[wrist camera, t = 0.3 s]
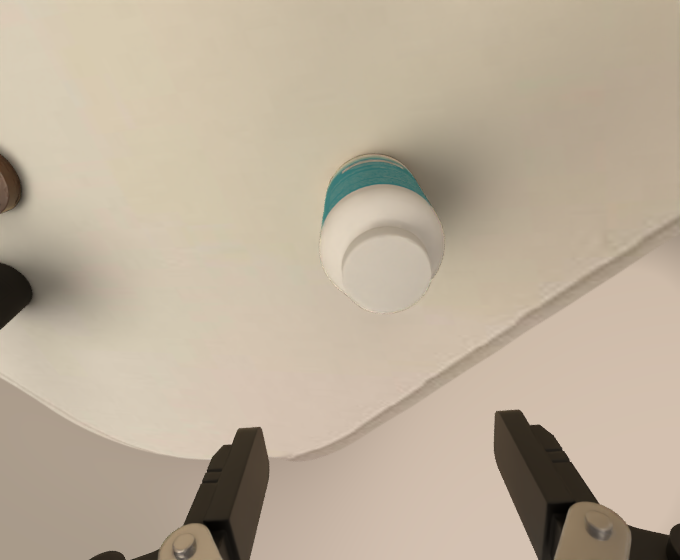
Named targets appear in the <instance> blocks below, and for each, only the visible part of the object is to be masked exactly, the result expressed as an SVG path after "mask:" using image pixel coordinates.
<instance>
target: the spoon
mask: <svg viewBox="0 0 680 560" xmlns="http://www.w3.org/2000/svg"><path fill="white" fill-rule="evenodd" d="M20 197H21V184H20V180H19V177H18V175H17V173H16V171H15V170H14V168H13V167H12V166H11V164H10V163H9V162H8V161H7V160H6V159H5V158H4V157H3V156H2V155H1V154H0V214H1V213H4V212H6V211H8V210H11V209H12V208H14V207H15V206H16V205H17V203H18V202H19V200H20Z"/></svg>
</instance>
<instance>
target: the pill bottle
mask: <svg viewBox="0 0 680 560" xmlns="http://www.w3.org/2000/svg"><path fill="white" fill-rule="evenodd" d="M444 247H445V238H444V232H443V228H442V225H441V222H440V220H439V218H438V216H437V214H436V213H435V211H434V209H433V208H432V206H431V204H430V203H429V201H428V200H427V198H426V196H425V195H424V193H423V192H422V190H421V188H420V187H419V185H418V183H417V182H416V180H415V178H414V177H413V175H412V174H411V172H410V171H409V170H408V169H407V168H406V167H405V166H404V165H403V164H402V163H400V162H399V161H397V160H396V159H394V158H391V157H389V156H385V155H380V154H367V155H362V156H359V157H356V158H354V159H351V160H350V161H348V162H346V163H345V164H344V165H342V166H341V167H340V168H339V169H338V170H337V171H336V173H335V174H334V176H333V177H332V179H331V181H330V183H329V185H328V188H327V192H326V198H325V205H324V212H323V220H322V227H321V234H320V243H319V252H320V259H321V263H322V266H323V269H324V271H325V273H326V275H327V276H328V278H329V279H330V281H331V282H332V283H333V284H334V285H335V286H336V287H337V288H338V289H339V290H340V291H341V292H343V293H344V294H346V295H347V296H349V298H350V299H351V300H352V301H353V302H354V303H355V304H357V305H358V306H359V307H361V308H363V309H365V310H367V311H370V312H373V313H379V314H390V313H396V312H400V311H403V310H405V309H407V308H409V307H411V306H413V305H414V304H416V303H417V302H418V301H419V300H420V299H421V298H422V297H423V296H424V294H425V293H426V292H427V290H428V288H429V285H430V283H431V280H432V279H433V278H434V276H435V274H436V273H437V271H438V269H439V267H440V265H441V262H442V259H443V255H444Z"/></svg>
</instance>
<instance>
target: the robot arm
mask: <svg viewBox="0 0 680 560" xmlns="http://www.w3.org/2000/svg"><path fill="white" fill-rule="evenodd" d="M494 427H495V429H494V454H495V459H496V463H497V466H498V469H499V471H500V473H501V475H502V478H503V480H504V482H505V484H506V487H507V489H508V491H509V493H510V496H511V498H512V500H513V503H514V505H515V507H516V510H517V512H518V514H519V516H520V519H521V521H522V523H523V525H524V528H525V530H526V532H527V535H528V537H529V539H530V541H531V544H532V546H533V548H534V550H535V553H536V555H537V557H538V560H680V524H677V525H675V526H674V527H673V528H672V529H671V531H670V535H665V534H661V533H656V532H651V531H647V530H643V529H639V528H635V527H632V526H629V525H627V524H626V522H625V521H624V520H623V519H622V518H621V517H620V516H619V515H618V514H617V513H615V512H614V511H612V510H611V509H609V508H607V507H605V506H603V505H600V504H599V503H598V501H597V500H596V498H595V497H594V495H593V494H592V492H591V491H590V489H589V488H588V486H587V485H586V483H585V482H584V480H583V479H582V478H581V476H580V474H579V473H578V471H577V470H576V469H575V467H574V465H573V464H572V462H570V461H569V458H568V456H567V455H566V453H565V452H564V451H563V450H562V447H561V446H560V444H559V443H558V441H557V440H556V438H555V437H554V435H552V434H551V433H550V432H548V431H547V430H546V429H544V428H543V427H542V426H541V425H529V423H528V422H527V420H526V418H525V416H524V415H523V413H522V412H521V411H520V410H507V411H496V413H495V426H494ZM268 480H269V460H268V455H267V451H266V446H265V441H264V437H263V432H262V429H261V427H252V428H239V429H238V430H237V432H236V435H235V438H234V440H233V443H232V445H223V446H222V447H221V448H220V449H219V450H218V452H217V453H216V454H215V455H214V456H213V457H212V459H211V462H210V464H209V466H208V469H207V473H205V476H204V478H203V480H202V484H201V485H200V488H199V490H198V492H197V494H196V497H195V499H194V502H193V504H192V506H191V508H190V511H189V513H188V515H187V518H186V520H185V523H184V525H183V526H182V527H180V528H178V529H177V530H175V531H174V532H172V533H171V534H170V535H169V536H168V537H167V538H166V539H165V541H164V542H163V544H162V545H161V547H160V549H158V550H156V551H154V552H152V553H149V554H146V555H143V556H140V557H138V558H135V559H132V560H249V559H250V555H251V551H252V547H253V543H254V539H255V535H256V530H257V526H258V522H259V518H260V513H261V509H262V505H263V501H264V497H265V492H266V488H267V484H268ZM90 560H126V559H125V557H124V555H123V554H121V553H120V552H117V551H108V552H104V553H101V554H99V555H97V556H95V557H93V558H91V559H90Z"/></svg>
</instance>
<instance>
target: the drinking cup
mask: <svg viewBox="0 0 680 560" xmlns="http://www.w3.org/2000/svg"><path fill="white" fill-rule="evenodd" d="M31 299H32V289H31V286H30V284H29V282H28V281H27V280H26V278H25V277H24V276H23V275H22V274H21V273H20V272H18V271H17V270H15V269H14V268H12V267H10V266H7V265H5V264H1V263H0V330H1V329H2V328H3V327H4V326H5V325H6V324H7V323H8V322H9V321H10V320H11V319H13V318H14V317H15V316H16V315H17V314H18V313H19V312H20V311H21V310H22V309H23V308H25V307H26V306H27V305H28V304H29V303H30V301H31Z"/></svg>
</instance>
